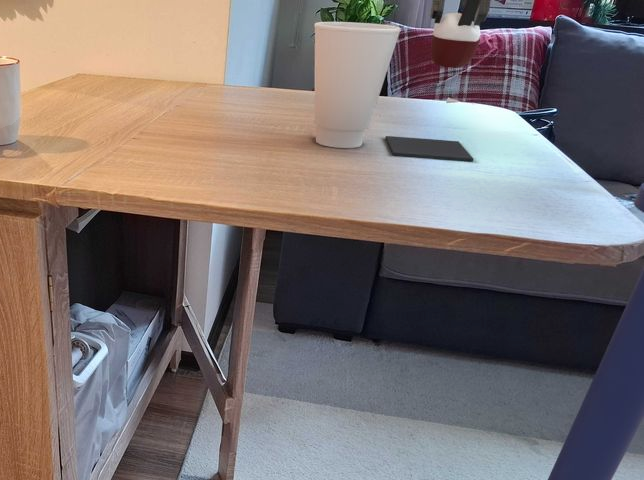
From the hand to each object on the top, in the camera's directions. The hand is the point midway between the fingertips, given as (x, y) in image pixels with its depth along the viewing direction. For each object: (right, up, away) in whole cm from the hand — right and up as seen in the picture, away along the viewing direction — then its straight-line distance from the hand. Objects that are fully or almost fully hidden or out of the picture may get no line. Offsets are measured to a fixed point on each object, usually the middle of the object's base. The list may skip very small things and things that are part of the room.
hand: (458, 19), depth 84 cm
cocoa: (+1, -4, +5) cm, 7 cm away
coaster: (0, -14, +10) cm, 17 cm away
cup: (-13, -13, +12) cm, 22 cm away
